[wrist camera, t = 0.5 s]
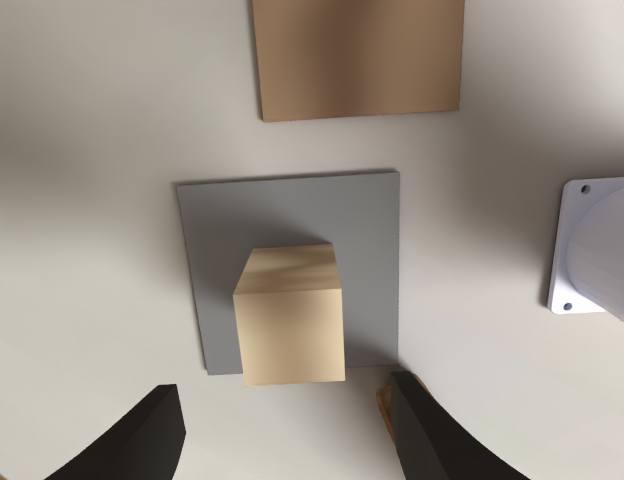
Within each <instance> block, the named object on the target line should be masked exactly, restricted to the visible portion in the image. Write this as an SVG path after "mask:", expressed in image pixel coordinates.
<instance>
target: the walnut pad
mask: <svg viewBox="0 0 624 480" xmlns="http://www.w3.org/2000/svg"><path fill="white" fill-rule="evenodd" d="M464 3H465V0H252V6H253V16H254V27H255V38H256V48H257V59H258V70H259V80H260V91H261V101H262V112H263V122H275V121H291V120H307V119H322V118H338V117H354V116H370V115H386V114H401V113H417V112H433V111H449V110H459V99H460V80H461V61H462V42H463V22H464Z"/></svg>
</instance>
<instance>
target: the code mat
mask: <svg viewBox="0 0 624 480" xmlns="http://www.w3.org/2000/svg"><path fill="white" fill-rule="evenodd" d="M399 184H400V173H399V172H384V173H368V174H352V175H336V176H320V177H303V178H287V179H271V180H255V181H239V182H223V183H206V184H190V185H178V186H176V188H177V194H178V200H179V206H180V212H181V218H182V224H183V230H184V236H185V242H186V248H187V254H188V260H189V266H190V272H191V278H192V284H193V290H194V296H195V302H196V308H197V314H198V320H199V326H200V332H201V337H202V343H203V349H204V355H205V361H206V367H207V373H208V375H224V374H242V373H243V367H242V360H241V353H240V345H239V338H238V330H237V323H236V315H235V308H234V301H233V293H234V291H235V289H236V287H237V284H238V282H239V280H240V277H241V275H242V273H243V270H244V268H245V266H246V264H247V261H248V259H249V257H250V254H251V252H252V250H253V249H256V248H272V247H289V246H306V245H322V244H333V248H334V253H335V258H336V263H337V269H338V274H339V279H340V284H341V290H342V315H343V339H344V364H345V368H348V367H365V366H383V365H398V305H399Z"/></svg>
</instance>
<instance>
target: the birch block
mask: <svg viewBox="0 0 624 480" xmlns="http://www.w3.org/2000/svg"><path fill="white" fill-rule="evenodd" d="M233 301H234V308H235V315H236V323H237V330H238V338H239V345H240V353H241V360H242V367H243V375H244V382H245V386H258V385H276V384H294V383H312V382H329V381H345V364H344V339H343V315H342V290H341V284H340V279H339V274H338V269H337V263H336V258H335V253H334V248H333V244H322V245H306V246H289V247H272V248H256V249H253V250H252V252H251V254H250V257H249V259H248V261H247V264H246V266H245V268H244V270H243V273H242V275H241V277H240V280H239V282H238V284H237V287H236V289H235V291H234V293H233Z"/></svg>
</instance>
